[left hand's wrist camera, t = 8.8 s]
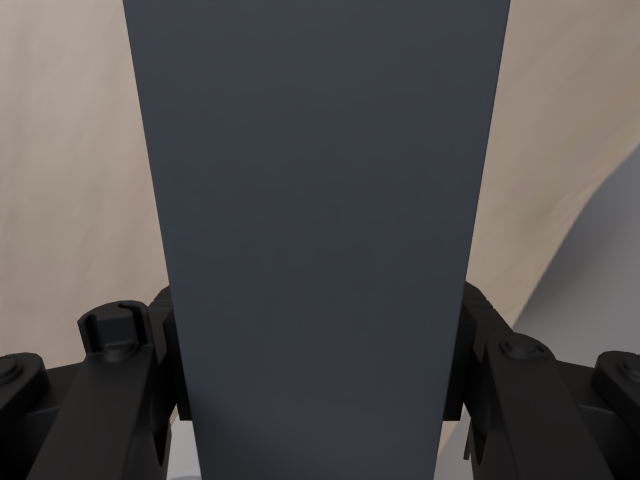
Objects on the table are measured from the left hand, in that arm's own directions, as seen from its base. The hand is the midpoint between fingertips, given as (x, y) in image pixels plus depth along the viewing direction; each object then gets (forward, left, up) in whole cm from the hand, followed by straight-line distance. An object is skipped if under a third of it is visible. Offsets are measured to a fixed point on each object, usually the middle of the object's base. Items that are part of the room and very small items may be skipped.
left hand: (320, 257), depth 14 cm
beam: (+17, +12, -1) cm, 20 cm away
